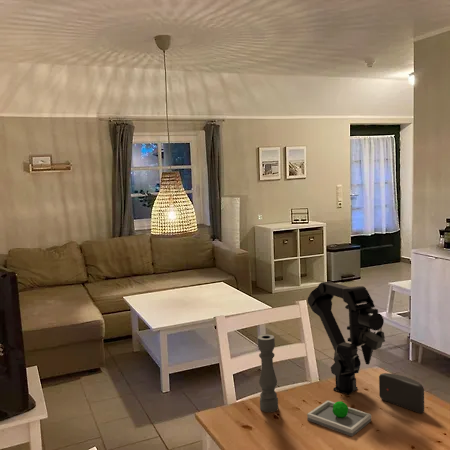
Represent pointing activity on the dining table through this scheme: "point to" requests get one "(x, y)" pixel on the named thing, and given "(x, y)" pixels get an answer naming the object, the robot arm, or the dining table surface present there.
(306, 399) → the dining table surface
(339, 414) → the polyhedron
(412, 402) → the leaning round-cornered charcoal block
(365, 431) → the dining table surface
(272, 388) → the candle holder
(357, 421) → the tray
